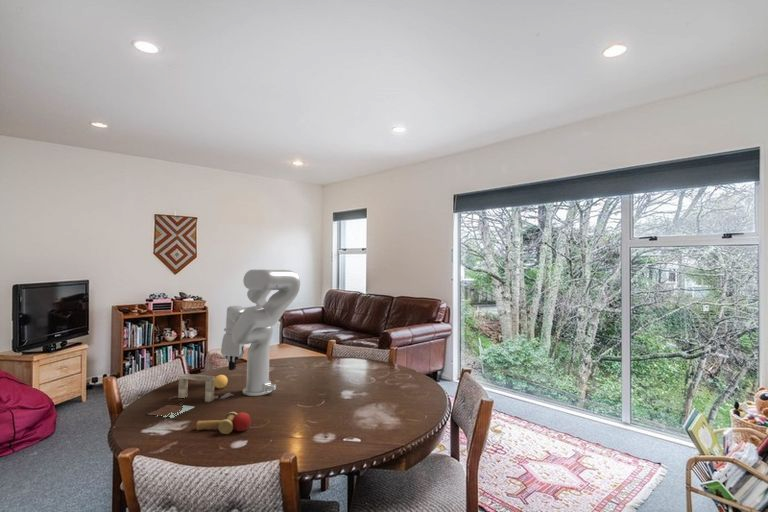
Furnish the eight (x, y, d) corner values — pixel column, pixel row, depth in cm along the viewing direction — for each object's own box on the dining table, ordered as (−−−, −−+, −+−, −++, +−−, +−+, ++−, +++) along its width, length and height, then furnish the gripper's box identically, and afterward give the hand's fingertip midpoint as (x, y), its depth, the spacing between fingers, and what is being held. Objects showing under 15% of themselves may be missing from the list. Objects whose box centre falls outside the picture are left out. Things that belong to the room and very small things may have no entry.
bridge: (183, 396, 167) (184, 373, 167) (213, 399, 164) (214, 376, 164) (178, 398, 164) (178, 375, 165) (209, 402, 161) (209, 378, 161)
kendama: (192, 439, 129) (246, 432, 129) (191, 419, 130) (245, 412, 131) (203, 434, 137) (254, 427, 137) (202, 415, 138) (253, 408, 138)
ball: (230, 386, 182) (230, 373, 182) (221, 390, 176) (222, 377, 176) (218, 385, 183) (219, 372, 183) (210, 389, 177) (210, 376, 177)
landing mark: (194, 407, 155) (194, 406, 155) (171, 418, 143) (171, 417, 143) (169, 404, 158) (169, 403, 158) (144, 414, 146) (144, 414, 146)
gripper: (215, 331, 188) (213, 369, 188) (243, 334, 184) (241, 373, 184) (225, 329, 195) (223, 365, 195) (252, 331, 192) (250, 369, 192)
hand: (232, 369), depth 190 cm, fingers closed
